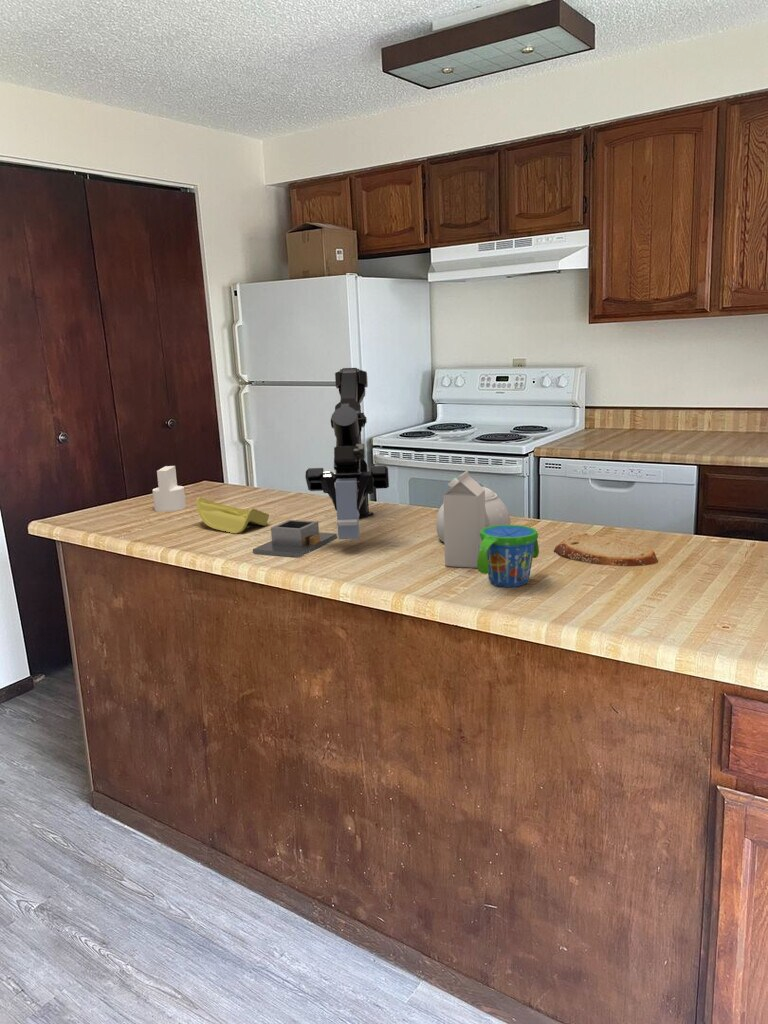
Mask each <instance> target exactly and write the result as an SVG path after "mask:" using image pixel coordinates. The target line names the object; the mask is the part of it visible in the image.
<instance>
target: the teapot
mask: <svg viewBox="0 0 768 1024" xmlns="http://www.w3.org/2000/svg"><path fill="white" fill-rule="evenodd" d="M476 482H477V481H476ZM477 483H478V484H479V485H480V483H479V482H477ZM481 487H482V488H484V489H485V528H486V527H490V526H497V525H511V517H510V513H509V510H508V508H507V506H506V504H505V503H504V502H503V501H502V500H501V498H499V496H498V494H497V493H495V492H494V491H493V490H492V489H491V488H488V487H485V486H481ZM435 521H436V522H435V525H436V526H435V527H436V534H437V537H438V538H439V540H440V541H441V542H443V543H444V506H443V503H442V504H441V506H440V508H439V509H438V512H437V515H436V520H435Z"/></svg>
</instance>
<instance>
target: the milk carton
mask: <svg viewBox="0 0 768 1024" xmlns="http://www.w3.org/2000/svg"><path fill="white" fill-rule="evenodd" d="M478 483H479V482H478ZM478 483H477V481H476V480H474V479H473V478H472V477H471V475H469V470H468V469H467V470H465V471H464V472H462V473H461V474H460V475H459V480H458V478H457V477H454V478H453V479H452V480H451V481H450V482H448V483H447V485H448V486H449V488H450V489H449V490H448V491H447V492H445V493H444V494H443V499H442V500H443V503H442V504H443V506H444V542H443V543H444V565H445V566H444V567H456V568H474V569H475V568H476V569H478V568H477V561H478V555H479V549H480V546H481V543H482V539H481V537H480V532H481V530H482V529H484V528H485V489H484V488H482V487H483V486H482V485H480V483H479V484H478Z"/></svg>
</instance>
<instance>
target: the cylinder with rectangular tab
mask: <svg viewBox="0 0 768 1024" xmlns="http://www.w3.org/2000/svg"><path fill="white" fill-rule="evenodd" d="M156 476H157V485H158V487H156V488H153V489H152V497H153V507H154V511H156V512H159V513H161V512H162V513H163V512H164V513H166V512H169V513H170V512H176V511H181V510H185V509H186V508H187V505H186V504H187V503H186V495H185V487H184V486H182V485H178V480H177V470H176V465H169V466H168V465H165V466H163V467H161V468H160V469H158V470H156Z"/></svg>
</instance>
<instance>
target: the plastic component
mask: <svg viewBox="0 0 768 1024" xmlns="http://www.w3.org/2000/svg"><path fill="white" fill-rule="evenodd" d="M196 508H197V509H196V510H197V512H198V515H199V518H200V519H201V521H202V522H203V523H204V524H205V525H206V526H208V527H210V528H211V529H214V530H217V531H222V532H225V531H226V533H229V532H230V533H229V534H234V533H239V534H241V533H242V532H244V531H245V529H246V527H247V525H248V524H251V525H252V524H253V525H256V524H257V526H261V525H262V526H263V527H266V526H267V524H268V521H269V517H270V514H268V513H266V512H263V511H261V510H258V509H255V508H249V510H247V509H243V508H237V507H235V506H234V507H233V506H229V505H226V504H222V503H219V502H215V501H212V500H209V499H207V498H204V497H202V496H201V497H200V496H199V497H197V498H196Z"/></svg>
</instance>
